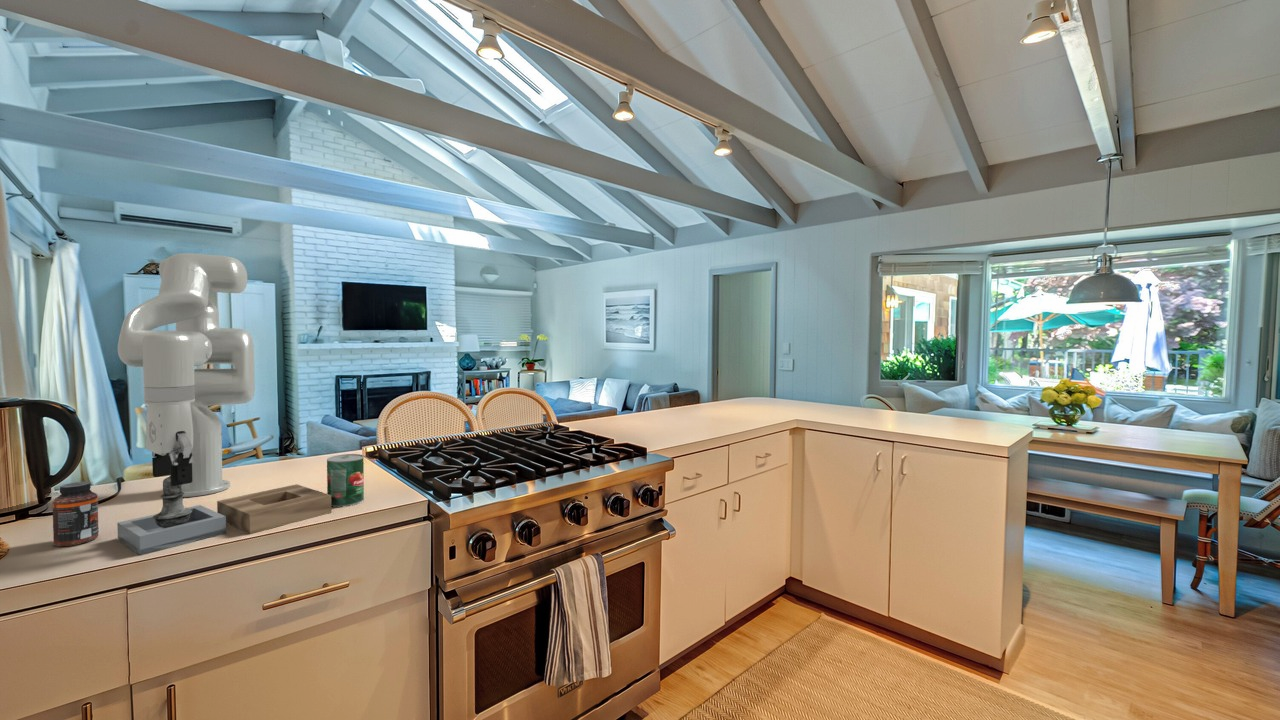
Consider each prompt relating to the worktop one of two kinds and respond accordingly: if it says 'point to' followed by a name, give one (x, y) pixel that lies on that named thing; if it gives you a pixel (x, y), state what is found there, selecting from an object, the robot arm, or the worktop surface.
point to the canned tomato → (345, 479)
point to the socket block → (274, 508)
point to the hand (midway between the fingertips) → (172, 479)
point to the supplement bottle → (75, 515)
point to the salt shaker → (172, 506)
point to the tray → (170, 531)
